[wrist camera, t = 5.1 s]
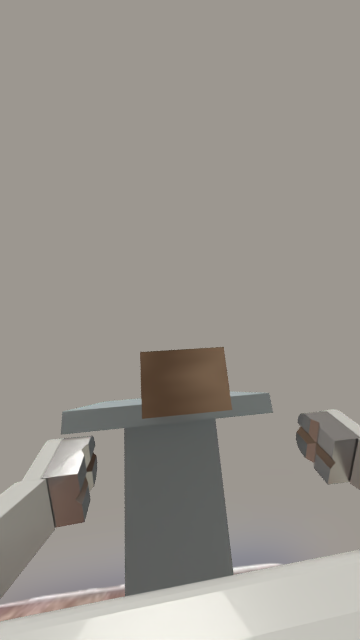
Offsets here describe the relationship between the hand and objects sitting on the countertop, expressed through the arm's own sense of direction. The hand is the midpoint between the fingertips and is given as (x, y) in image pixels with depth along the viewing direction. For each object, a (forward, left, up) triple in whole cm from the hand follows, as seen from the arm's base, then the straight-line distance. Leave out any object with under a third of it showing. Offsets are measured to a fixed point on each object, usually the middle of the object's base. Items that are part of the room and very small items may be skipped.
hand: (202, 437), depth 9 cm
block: (0, +11, +1) cm, 11 cm away
